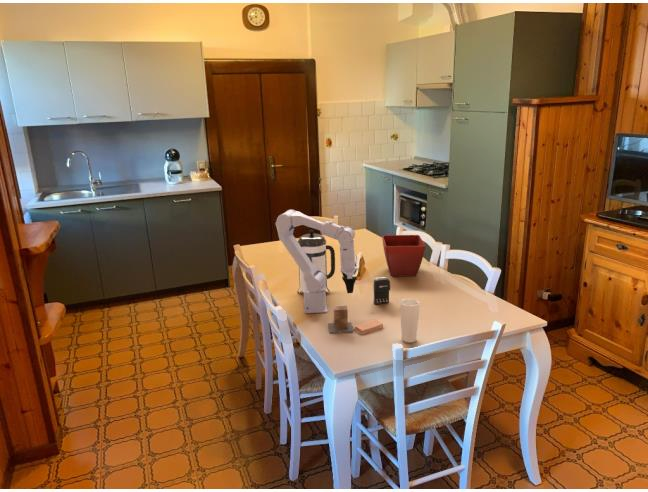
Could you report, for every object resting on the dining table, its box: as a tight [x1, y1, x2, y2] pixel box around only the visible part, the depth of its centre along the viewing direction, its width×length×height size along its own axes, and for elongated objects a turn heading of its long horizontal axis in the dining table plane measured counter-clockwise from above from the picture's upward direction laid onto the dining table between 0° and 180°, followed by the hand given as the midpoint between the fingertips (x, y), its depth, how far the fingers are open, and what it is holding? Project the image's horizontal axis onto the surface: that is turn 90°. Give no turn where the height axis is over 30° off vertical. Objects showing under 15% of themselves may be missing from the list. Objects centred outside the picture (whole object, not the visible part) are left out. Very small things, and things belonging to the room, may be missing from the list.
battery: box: [372, 276, 391, 305], centre depth 213 cm, size 7×4×11 cm, turn 101°
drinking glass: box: [399, 298, 420, 344], centre depth 180 cm, size 7×7×15 cm
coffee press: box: [296, 229, 336, 295], centre depth 224 cm, size 17×16×30 cm
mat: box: [328, 321, 354, 334], centre depth 192 cm, size 9×8×1 cm
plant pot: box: [381, 234, 426, 277], centre depth 248 cm, size 19×19×17 cm
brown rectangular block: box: [333, 305, 349, 329], centre depth 191 cm, size 5×4×8 cm
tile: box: [354, 318, 384, 335], centre depth 192 cm, size 10×2×5 cm
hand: (349, 289), depth 203 cm, fingers open, 7 cm apart
